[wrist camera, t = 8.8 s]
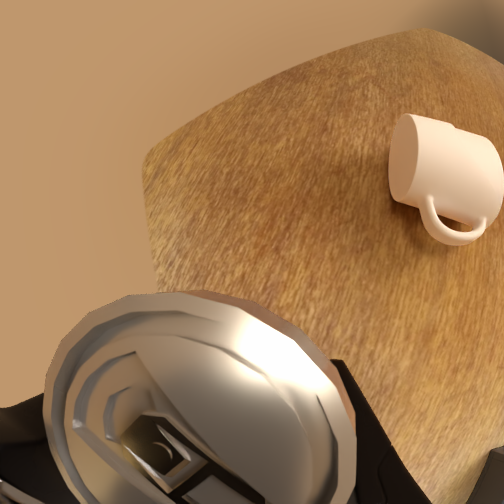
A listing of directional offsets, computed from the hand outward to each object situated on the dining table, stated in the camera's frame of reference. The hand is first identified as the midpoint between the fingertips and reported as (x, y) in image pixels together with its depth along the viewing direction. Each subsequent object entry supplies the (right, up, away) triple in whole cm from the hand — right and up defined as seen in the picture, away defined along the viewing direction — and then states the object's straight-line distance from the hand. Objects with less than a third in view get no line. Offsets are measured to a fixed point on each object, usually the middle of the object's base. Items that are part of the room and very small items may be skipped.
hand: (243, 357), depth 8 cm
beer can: (+1, -3, +6) cm, 7 cm away
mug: (+18, +8, +15) cm, 25 cm away
